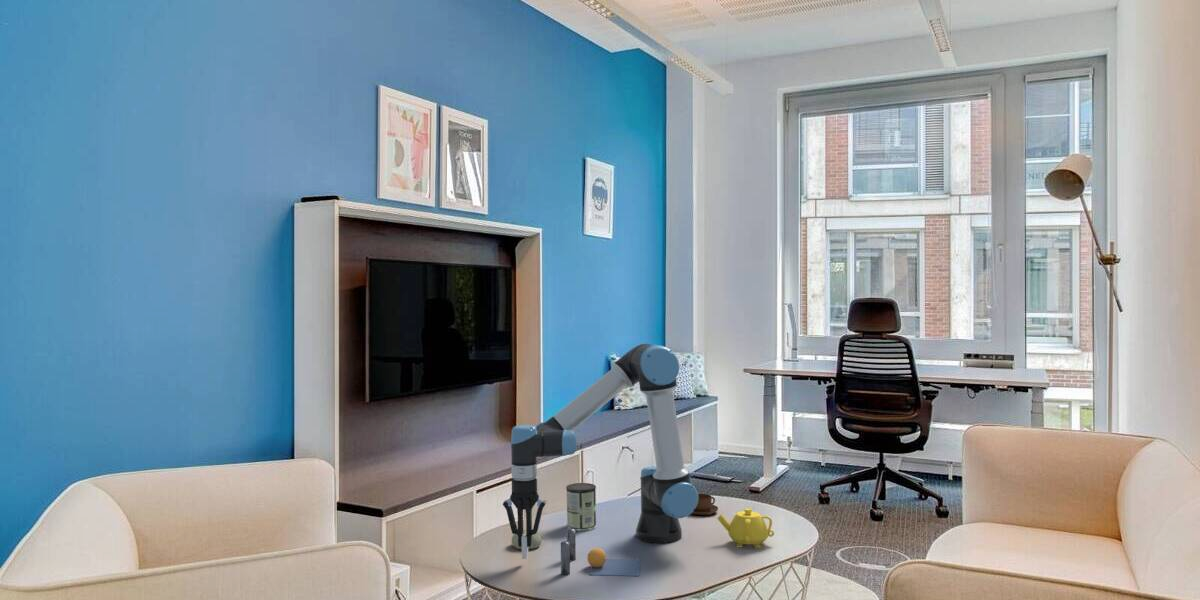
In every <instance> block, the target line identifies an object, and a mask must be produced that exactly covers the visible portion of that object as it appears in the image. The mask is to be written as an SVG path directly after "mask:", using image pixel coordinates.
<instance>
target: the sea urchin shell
mask: <svg viewBox="0 0 1200 600" xmlns="http://www.w3.org/2000/svg"><path fill="white" fill-rule="evenodd" d="M523 531H524V532H523V534H526V529H523ZM542 539H543V538H542V536H541V534H540V533H539V532H538V531H537V533H536V534H533V535H532V544H531V546H530V547H528V550H533V549H536V548H538V547H539V546H540V545H541V544H542ZM511 544H512V546H513V547H514V548H515V549H518V550H522V547H519V545H518V535H516V534H513V535H512V537H511Z"/></svg>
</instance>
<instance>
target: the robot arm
mask: <svg viewBox="0 0 1200 600" xmlns="http://www.w3.org/2000/svg"><path fill="white" fill-rule="evenodd" d="M611 366H612V367H611V369H610V370H608V371H607V372H606V373H605V374H604V375H602V376H601V377H599V379H597V380H596V381H595V382H594V383H593V384H591V385H590V386H589V387H587V388H586V389H584V391H582V392H581V393H580V394H579V395H578V396H576V397H575V398H574V399H572V400H571V401H569V402H568V404H566V405H565V406H564V407H562V408H561V409H560V410H559V411H558V412H556V413H555V414H554V415H552V417H550V418H548V419H547V420H546V421H544V422H539V423H538V424H536V425H532V424H520V425H515V426H513V427H512V429H511V437H510V438H511V439H510V440H511V441H510V444H511V445H510V448H511V450H510V451H511V456H510V457H511V478H512V479H511V494H510V497H509V498H508V499H505V500H504V501H503V502H502V505H503V507H504V509H505V510H506V514H507V518H508V521H509V526H510V531H511V534H513V535H514V534H516V535H518V545H519V547H522V549H521V559H525V560H526V559H528V557H529V549H528V547H530V546H531V544H532V535H533V534H536V533H537V532H538V531H539V527H540V522H541V517H542V515H543V509H544V507H545V506H546V504H547V500H543V499H541V498H540V496H539V493H538V479H537V477H538V465H537V464H538V462H537V461H538V458H546V457H559V456H562V457H566V456H572V455H574V454H575V453H576V451H577V444H578V443H577V435H576V433H575V431H574V430H575V429H576V428H578V427H579V426H580V425H581V424H583V423H584V422H585V421H586V420H587V419H589V418H590V417H592V416H593V415H594V414H595V413H596V412H597V411H599V410H600V409H601V408H602V407H604V406H605V405H606V404H608V402H610V401H611V400H612V399H614V398H615V397H616V396H617V395H618V394H620V393H621V392H622V391H624V390H625V389H626V388H632V387H634V385H636V384H637V383H639V384H638V385H639V391H640V393H643V394H644V395H645V399H646V406H647V410H648V418H649V420H648V421H649V424H650V433H651V438H652V447H653V452H654V458H655V460H654V461H655V466H645V467H643V468H642V469H641V470H640V506H641V507H640V509H641V511H640V515H639V519H638V522H637V526H636V528H635V536H636V538H637V539H638V540H641V541H644V542H649V543H658V544H659V543H663V544H664V543H672V542H676V541H678V540H680V539H682V536H683V530H682V527H681V524H680V519H684V518H686V517H689V516H690V515H691V514H692V512H693V511H694V509H695V508H696V506H697V504H698V494H699V493H698V490H697V489H696V487H695V485H694V484H692V480H691V473H690V469H689V468H687V467H686V466H685V465H684V458H683V457H684V456H683V450H682V445H681V438H680V431H679V424H678V416H677V411H676V403H675V398H674V390H676V388H677V387H678V385H677V384H678V383H677V377H678V375H679V372H680V362H679V359H678V357H677V355H676V354H675V353H674V351H672V350H671V349H670V348H668V347H666V346H664V345H661V344H660V345H659V344H650V343H641V344H639V345H636V346H634V347H633V348H630V350H628V351H627V352H626V353H625V354H623V355H622V356H621V357H620V358H619V359H618V360H616V361H615V362H614V363H613V364H612V365H611ZM536 503H537V505H536ZM513 505H514V507H515V509H516V510H517V511H516V513H517V521H516V518H515V514H514V510H513V507H512V506H513ZM535 505H536V506H537V507H538V508H537V510H536V514H535V519H534V523H533V521H532V520H533V515H532V514H533V512H532V510H533V508H534V506H535ZM524 510H525V519H526V520H525V523H526V524H525V528H526V529H525V530H526V534H523V532H524V531H523V530H524ZM516 522H517V523H516Z"/></svg>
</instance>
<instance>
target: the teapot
mask: <svg viewBox="0 0 1200 600" xmlns="http://www.w3.org/2000/svg"><path fill="white" fill-rule="evenodd" d="M716 519H717V520H718V521H719V522H720V524H721V525H722V526H723V527H724V529H725V530H727V532H728V536H729V538H730V539H731V540H732V541H733V542H735V543H736V545H737V546H743V547H744V545H753V546H754V547H753V548H755V547H760V548H761V544H762V543H763V544H764V542H765V541H766V540H767V539H768V538H769V537H774V535H775V531H774V530H773V529H771V528H772V525H773V519H772V517H770V516H769V515H761V514H760V513H759V512H756V511H753V509H752V508H746V507H745V508H743V510H742V511H738V512H736V513H735V515H734V516H733V518H732V520H731V521H730V522H729V521H728V520H727V519H726V518H725V516H724V515H723V514H720V515H719V516H718V517H716ZM765 519H767V520H768V522H769V523H768V525H767V523H766V521H765ZM737 546H736V547H737Z"/></svg>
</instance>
